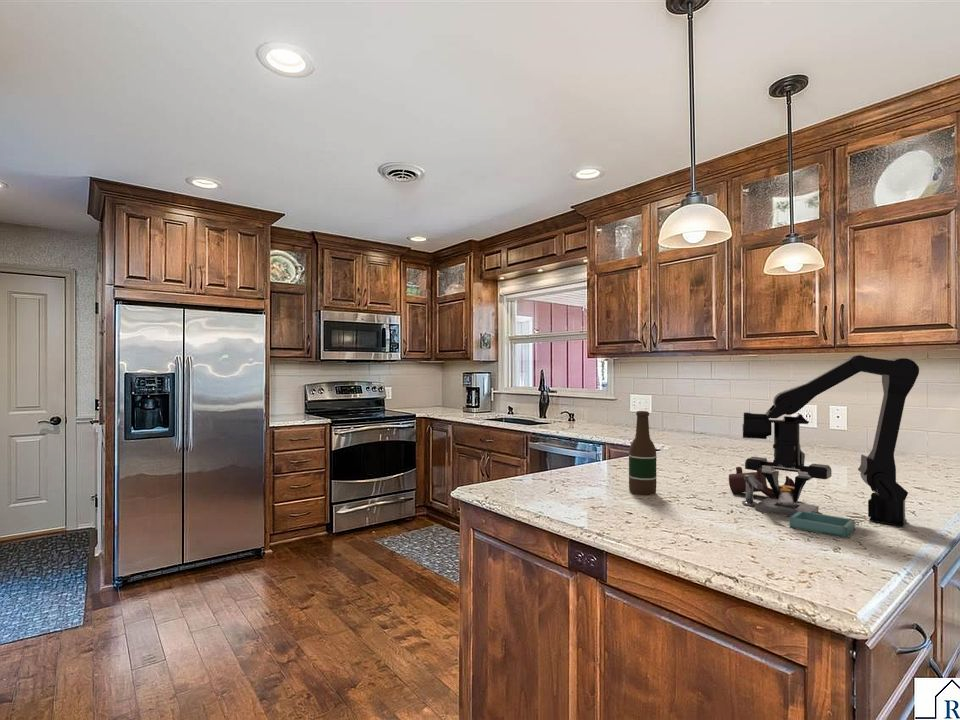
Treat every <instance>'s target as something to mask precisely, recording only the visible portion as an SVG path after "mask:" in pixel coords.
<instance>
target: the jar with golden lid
mask: <svg viewBox="0 0 960 720" xmlns="http://www.w3.org/2000/svg"><path fill="white" fill-rule="evenodd" d="M794 488H795V487H792V486H784V484H783V485H779V486H778V506H781V507H787V508H793V509H795V502H794Z"/></svg>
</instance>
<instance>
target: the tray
mask: <svg viewBox="0 0 960 720" xmlns="http://www.w3.org/2000/svg"><path fill="white" fill-rule="evenodd" d="M855 523H856V522H855V519H853V518H852V519H851V518H845V517H839V516H834V515H828V514H823V513H811V512H805V511H799V512H797V513H796V514H794V515H793V516H792V517H791V516H789V528H790V527H792V528H791V529H795V528H796V529H797V530H802V531H805V532H812V533H816V534H817V533H818V534H823V535H828V536H832V537H837V536H838V538H842V537H843V539H847V538H849V536H850V535H851V534H852V533H853V532H854V531H855V526H856V525H855ZM796 529H795V530H796Z"/></svg>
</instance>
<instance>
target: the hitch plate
mask: <svg viewBox="0 0 960 720" xmlns="http://www.w3.org/2000/svg"><path fill="white" fill-rule="evenodd" d="M741 504H742V505H743V506H746V507H755V511H757V510H758V511H757V512H763V511H764V512H763V513H768V512H769V514H774V513H775V515H780V514H781V516H785V515H786V516H785V517H791V516H793V515H794V514H796V513H797V512H799V511H805V512H811V513H817V514H819V505H814V504H809V503H801V502H797V503H795V509H793V508H787V507H781V506H778V500H777V499H771V498H769V497H767V498H764V499H763V500H761V501H758V502H756V501H754V492H753V485H752V484H751V483H750V482H748V481H746V492H745V500H742V501H741Z"/></svg>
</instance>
